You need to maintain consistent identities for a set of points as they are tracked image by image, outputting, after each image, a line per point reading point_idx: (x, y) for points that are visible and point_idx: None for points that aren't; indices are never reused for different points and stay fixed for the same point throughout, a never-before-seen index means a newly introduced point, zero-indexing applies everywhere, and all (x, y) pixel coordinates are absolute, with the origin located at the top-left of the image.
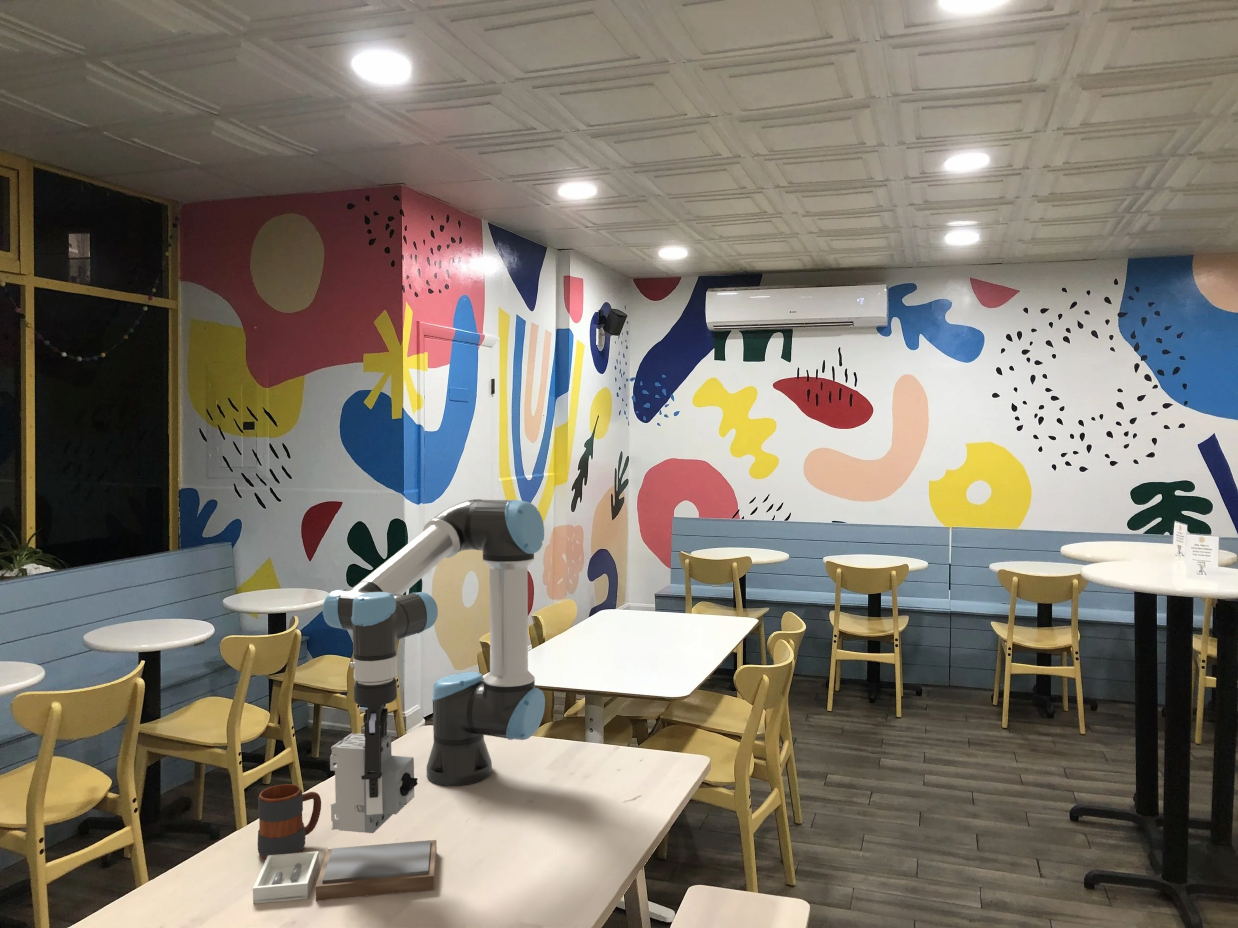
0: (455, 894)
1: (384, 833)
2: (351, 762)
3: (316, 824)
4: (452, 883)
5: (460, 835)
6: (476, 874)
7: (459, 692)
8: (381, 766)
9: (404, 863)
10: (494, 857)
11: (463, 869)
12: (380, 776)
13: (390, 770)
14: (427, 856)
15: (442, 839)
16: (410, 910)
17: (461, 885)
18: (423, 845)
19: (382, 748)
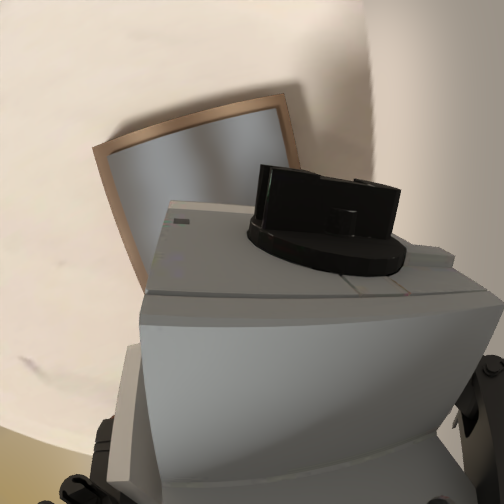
0: (290, 51)
1: (48, 297)
2: None
3: (114, 415)
4: (245, 64)
5: (23, 127)
6: (202, 25)
7: None
8: (387, 439)
9: (240, 178)
10: (122, 12)
11: (179, 56)
12: (491, 360)
13: (465, 356)
14: (199, 130)
15: (43, 160)
16: (350, 128)
17: (253, 45)
18: (137, 164)
19: None
